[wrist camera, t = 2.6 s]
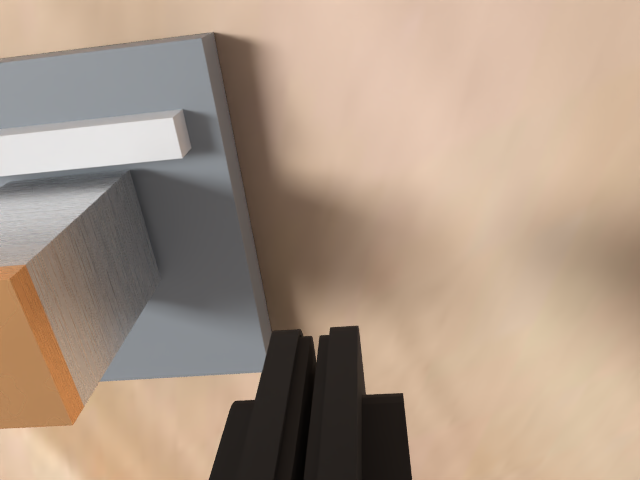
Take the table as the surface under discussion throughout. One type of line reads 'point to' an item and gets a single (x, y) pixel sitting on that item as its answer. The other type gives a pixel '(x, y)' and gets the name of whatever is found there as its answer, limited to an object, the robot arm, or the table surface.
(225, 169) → the divider plate
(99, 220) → the block
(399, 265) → the table surface
